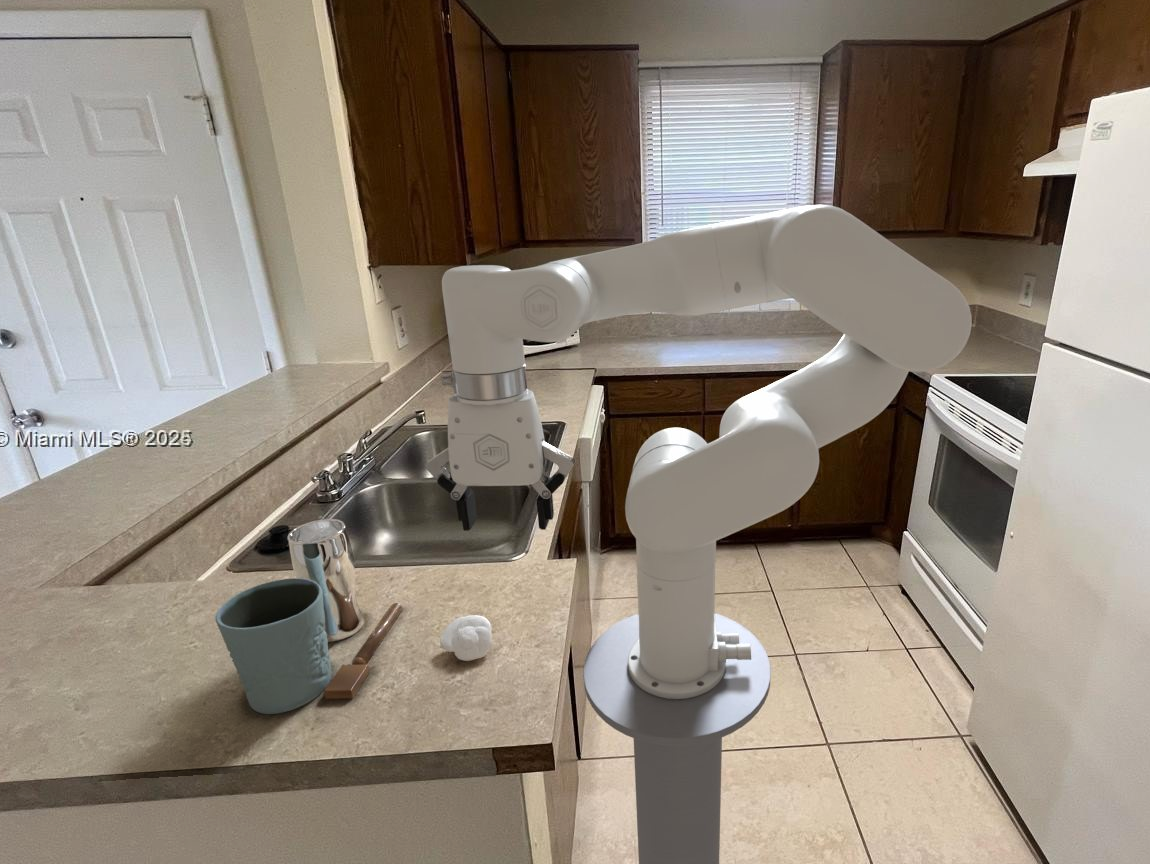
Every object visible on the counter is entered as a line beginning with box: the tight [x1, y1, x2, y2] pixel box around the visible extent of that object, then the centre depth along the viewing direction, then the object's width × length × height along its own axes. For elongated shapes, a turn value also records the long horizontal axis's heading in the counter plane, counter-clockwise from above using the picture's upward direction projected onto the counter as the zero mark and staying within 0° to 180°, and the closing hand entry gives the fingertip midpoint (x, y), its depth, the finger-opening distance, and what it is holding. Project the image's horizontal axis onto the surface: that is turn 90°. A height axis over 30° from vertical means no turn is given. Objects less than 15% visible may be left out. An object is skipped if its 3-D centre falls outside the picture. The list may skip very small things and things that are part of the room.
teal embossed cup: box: [215, 577, 332, 715], centre depth 71 cm, size 10×10×12 cm
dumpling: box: [439, 614, 493, 662], centre depth 78 cm, size 7×5×4 cm
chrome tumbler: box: [287, 518, 365, 643], centre depth 81 cm, size 7×7×15 cm
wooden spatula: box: [323, 602, 403, 700], centre depth 79 cm, size 17×3×2 cm, turn 1°
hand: (507, 524), depth 73 cm, fingers open, 8 cm apart
